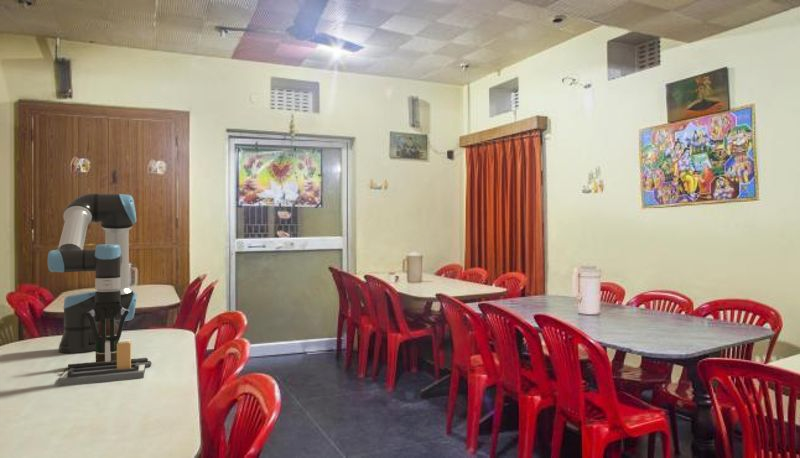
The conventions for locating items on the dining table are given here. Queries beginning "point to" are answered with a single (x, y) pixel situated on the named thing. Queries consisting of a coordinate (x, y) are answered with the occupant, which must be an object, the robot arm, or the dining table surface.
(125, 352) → the block
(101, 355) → the beer bottle
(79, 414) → the dining table surface
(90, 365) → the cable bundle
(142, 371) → the grey rectangular tray
